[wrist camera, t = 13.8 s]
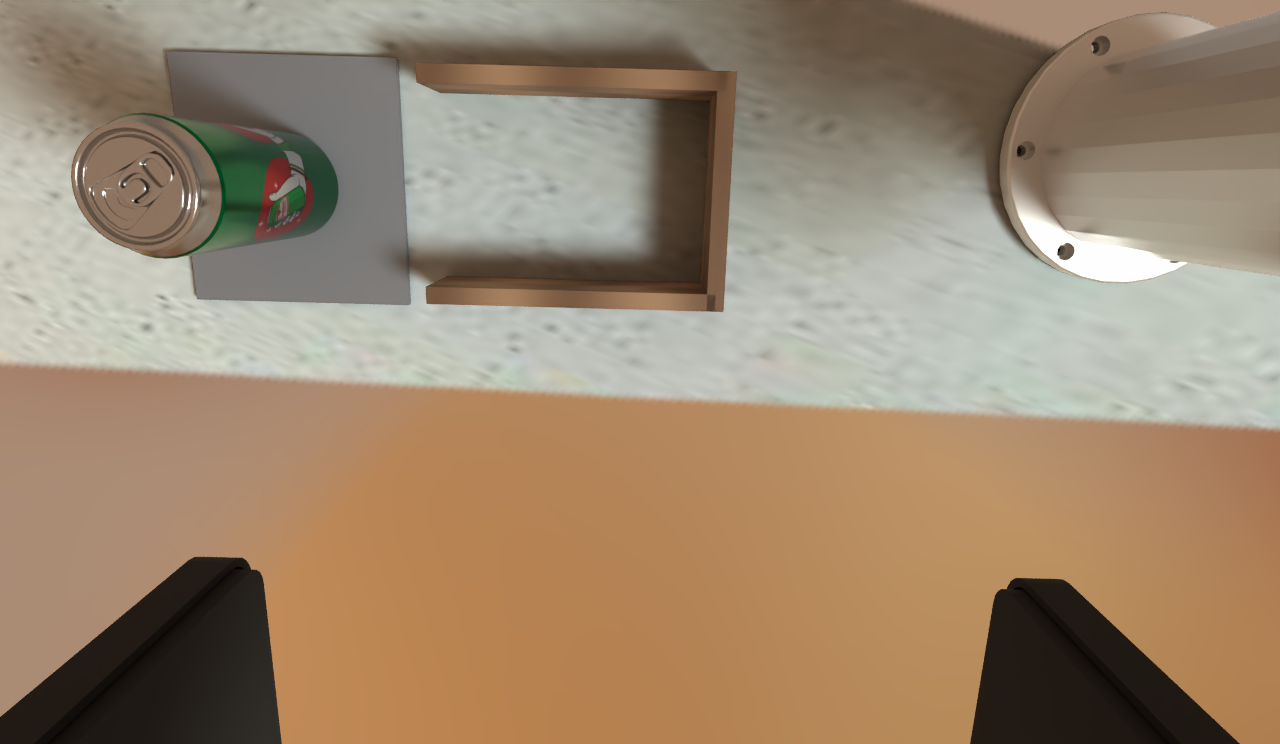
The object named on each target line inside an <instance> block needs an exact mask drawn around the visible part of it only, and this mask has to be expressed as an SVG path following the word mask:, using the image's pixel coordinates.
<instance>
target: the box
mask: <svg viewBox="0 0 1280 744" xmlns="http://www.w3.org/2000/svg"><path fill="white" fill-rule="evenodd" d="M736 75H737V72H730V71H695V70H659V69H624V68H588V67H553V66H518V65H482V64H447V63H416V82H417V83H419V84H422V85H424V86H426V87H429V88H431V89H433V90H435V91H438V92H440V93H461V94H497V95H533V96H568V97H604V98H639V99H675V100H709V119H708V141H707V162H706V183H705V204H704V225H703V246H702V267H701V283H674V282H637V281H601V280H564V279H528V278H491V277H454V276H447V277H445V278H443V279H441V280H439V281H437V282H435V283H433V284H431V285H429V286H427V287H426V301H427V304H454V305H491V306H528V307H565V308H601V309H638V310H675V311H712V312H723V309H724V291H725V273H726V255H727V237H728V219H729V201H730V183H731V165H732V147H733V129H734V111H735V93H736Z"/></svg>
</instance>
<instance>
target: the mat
mask: <svg viewBox="0 0 1280 744" xmlns="http://www.w3.org/2000/svg"><path fill="white" fill-rule="evenodd" d="M166 53H167V61H168V69H169V77H170V85H171V93H172V101H173V109H174V117H182V118H189V119H196V120H204V121H211V122H219V123H226V124H233V125H241V126H248V127H255V128H263V129H270V130H277V131H285V132H291V133H295V134H298V135H301V136H303V137H305V138H307V139H309V140H310V141H312V142H313V143H315V144H316V145H317V146H318V147H319V148H320V149H321V150H322V151H323V152H324V153H325V154H326V156H327V157H328V158H329V160H330V161H331V163H332V165H333V167H334V170H335V173H336V176H337V180H338V190H339V194H338V202H337V205H336V208H335V211H334V213H333V215H332V216H331V218H330V219H329V221H328V222H327V223H326V224H325V225H324V226H323V227H322V228H320V229H319V230H317V231H316V232H314V233H311V234H309V235H306V236H302V237H296V238H290V239H285V240H279V241H273V242H267V243H261V244H255V245H249V246H243V247H237V248H231V249H225V250H220V251H214V252H208V253H202V254H196V255H192V263H193V271H194V279H195V287H196V295H197V299H206V300H242V301H279V302H316V303H353V304H390V305H409V304H411V299H410V279H409V259H408V240H407V220H406V201H405V181H404V161H403V142H402V122H401V103H400V83H399V63H398V59H397V58H392V57H357V56H321V55H286V54H251V53H215V52H180V51H166Z"/></svg>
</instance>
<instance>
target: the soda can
mask: <svg viewBox="0 0 1280 744" xmlns="http://www.w3.org/2000/svg"><path fill="white" fill-rule="evenodd" d="M71 179H72V188H73V192H74V196H75V199H76V201H77V203H78V206H79V208H80V210H81V211H82V213H83V215H84V216H85V218H86V219H87V220H88V222H89V223H90V224H91V225H92V226H93V227H94V228H95V229H96V230H97V231H98V232H99V233H100V234H102V235H103V236H104V237H106V238H107V239H109V240H110V241H112V242H114V243H116V244H118V245H121V246H123V247H126V248H129V249H131V250H132V251H135V252H137V253H140V254H142V255H146V256H150V257H154V258H165V259H167V258H178V257H184V256H190V255H196V254H202V253H208V252H214V251H220V250H225V249H231V248H237V247H243V246H249V245H255V244H261V243H267V242H273V241H279V240H285V239H290V238H296V237H302V236H306V235H309V234H311V233H314V232H316V231H317V230H319V229H320V228H322V227H323V226H324V225H325V224H326V223H327V222H328V221H329V219H330V218H331V216H332V215H333V213H334V211H335V208H336V205H337V202H338V194H339V190H338V180H337V176H336V173H335V170H334V167H333V165H332V163H331V161H330V160H329V158H328V157H327V156H326V154H325V153H324V152H323V151H322V150H321V149H320V148H319V147H318V146H317V145H316V144H315V143H313V142H312V141H310V140H309V139H307V138H305V137H303V136H301V135H298V134H295V133H291V132H285V131H277V130H270V129H263V128H255V127H248V126H241V125H233V124H226V123H219V122H211V121H204V120H196V119H189V118H182V117H174V116H167V115H160V114H151V113H134V114H129V115H125V116H121V117H119V118H117V119H114V120H112V121H111V122H109V123H108V124H106V125H105V126H103V127H100V128H98V129H96V130H95V131H93V132H92V133H91V134H89V135H88V136H87V137H86V138H85V139H84V140H83V141H82V143H81V145H80V146H79V148H78V149H77V152H76V154H75V156H74V160H73V164H72V173H71Z"/></svg>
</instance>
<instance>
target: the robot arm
mask: <svg viewBox="0 0 1280 744" xmlns="http://www.w3.org/2000/svg"><path fill="white" fill-rule="evenodd" d="M1091 45H1093V46H1094V51H1093V52H1092V51H1091ZM1018 146H1019V147H1020V148H1021V154H1020V155H1019V156H1017V148H1018ZM1000 186H1001V191H1002V196H1003V202H1004V206H1005V209H1006V211H1007V213H1008V216H1009V218H1010V221H1011V223H1012V226H1013V228H1014V229H1015V230H1016V232H1017V233H1018V235H1019V236H1020V238H1021V239H1022V241H1023V242H1024V244H1025V245H1026V246H1027V247H1028V248H1029V249H1030V250H1031V251H1032V252H1033V253H1034V254H1036V255H1037V256H1038V257H1039V258H1040V259H1041V260H1042V261H1044V262H1045V263H1047V264H1049V265H1050V266H1052V267H1054V268H1055V269H1057V270H1059V271H1061V272H1064V273H1066V274H1069V275H1072V276H1075V277H1078V278H1081V279H1086V280H1092V281H1097V282H1101V283H1131V282H1137V281H1143V280H1149V279H1152V278H1155V277H1158V276H1161V275H1164V274H1167V273H1170V272H1173V271H1175V270H1177V269H1179V268H1180V267H1182V266H1184V265H1186V264H1188V263H1193V264H1200V265H1206V266H1213V267H1220V268H1227V269H1234V270H1240V271H1247V272H1254V273H1261V274H1268V275H1274V276H1280V12H1276V13H1272V14H1268V15H1265V16H1261V17H1257V18H1254V19H1250V20H1246V21H1242V22H1239V23H1235V24H1231V25H1227V26H1224V27H1220V28H1218V27H1216V26H1215V25H1213V24H1211V23H1208V22H1205V21H1203V20H1200V19H1197V18H1195V17H1192V16H1189V15H1181V14H1173V13H1167V12H1163V13H1162V12H1161V13H1148V14H1137V15H1134V16H1130V17H1126V18H1123V19H1119V20H1116V21H1112V22H1110V23H1107V24H1104V25H1102V26H1099V27H1097V28H1095V29H1092V30H1089V31H1088V32H1086V33H1084V34H1083V35H1081V36H1079V37H1078V38H1076V39H1074V40H1073V41H1071V42H1069V43H1068V44H1066V45H1065V46H1064V47H1063V48H1061V49H1060V50H1059V51H1058V52H1057V53H1056V54H1054V55H1053V56H1052V57H1051V58H1050V59H1049V60H1047V61H1046V62H1045V63H1044V65H1043V66H1042V67H1041V68H1040V69H1039V71H1038V72H1037V73H1036V74H1035V75H1034V77H1033V78H1032V79H1031V80H1030V81H1029V83H1028V84H1027V86H1026V87H1025V89H1024V91H1023V92H1022V94H1021V96H1020V98H1019V99H1018V101H1017V103H1016V104H1015V106H1014V108H1013V111H1012V114H1011V116H1010V119H1009V122H1008V124H1007V127H1006V130H1005V133H1004V138H1003V143H1002V149H1001V154H1000ZM1059 246H1060V252H1059V253H1058V254H1057V250H1058V248H1059ZM0 744H282V743H281V734H280V725H279V717H278V707H277V698H276V689H275V681H274V672H273V663H272V654H271V645H270V636H269V627H268V618H267V609H266V600H265V592H264V583H263V578H262V575H261V573H260V572H259V571H257V570H251V568H250V565H249V564H248V562H247V561H246V560H245V559H243V558H226V557H194V558H192V559H190V560H189V561H187V562H186V563H185V564H184V565H182V566H181V567H180V568H179V569H178V570H176V571H175V572H174V573H173V574H172V575H170V576H169V577H168V578H167V579H166V580H165V581H163V582H162V583H161V584H160V585H158V586H157V587H156V588H155V589H154V590H152V591H151V592H150V593H149V594H148V595H146V596H145V597H144V598H143V599H142V600H140V601H139V602H138V603H137V604H136V605H134V606H133V607H132V608H131V609H130V610H128V611H127V612H126V613H125V614H124V615H122V616H121V617H120V618H119V619H118V620H116V621H115V622H114V623H113V624H112V625H110V626H109V627H108V628H107V629H105V630H104V631H103V632H102V633H101V634H99V635H98V636H97V637H96V638H95V639H93V640H92V641H91V642H90V643H89V644H88V645H86V646H85V647H84V648H83V649H82V650H80V651H79V652H78V653H77V654H75V655H74V656H73V657H72V658H71V659H69V660H68V661H67V662H66V663H65V664H63V665H62V666H61V667H60V668H59V669H57V670H56V671H55V672H54V673H53V674H51V675H50V676H49V677H48V678H47V679H45V680H44V681H43V682H42V683H41V684H40V685H38V686H37V687H36V688H35V689H33V691H31V692H30V693H29V694H27V695H26V696H25V697H24V698H23V699H21V700H20V701H19V702H18V703H17V704H16V705H14V706H13V707H12V708H11V709H10V710H8V711H7V712H6V713H5V714H3V715H2V716H1V717H0ZM970 744H1239V743H1238V742H1237V741H1236V740H1235V739H1234V738H1233V737H1232V736H1231V735H1230V734H1229V733H1228V732H1226V730H1224V729H1223V728H1222V727H1221V726H1220V725H1219V724H1218V723H1217V722H1216V721H1215V720H1214V719H1212V717H1211V716H1210V715H1208V714H1207V713H1206V712H1205V711H1204V710H1203V709H1202V708H1201V707H1200V706H1199V705H1198V704H1197V703H1196V702H1195V701H1194V700H1193V699H1191V698H1190V697H1189V696H1188V695H1187V694H1186V693H1185V692H1184V691H1183V690H1182V689H1181V688H1180V687H1179V686H1178V685H1177V684H1175V683H1174V682H1173V681H1172V680H1171V679H1170V678H1169V677H1168V676H1167V675H1166V674H1165V673H1164V672H1163V671H1162V670H1161V669H1160V668H1158V667H1157V666H1156V665H1155V664H1154V663H1153V662H1152V661H1151V660H1150V659H1149V658H1148V657H1147V656H1146V655H1145V654H1144V653H1142V652H1141V651H1140V650H1139V649H1138V648H1137V647H1136V646H1135V645H1134V644H1133V643H1132V642H1131V641H1130V640H1129V639H1128V638H1127V637H1126V636H1124V635H1123V634H1122V633H1121V632H1120V631H1119V630H1118V629H1117V628H1116V627H1115V626H1114V625H1113V624H1112V623H1111V622H1110V621H1109V620H1107V619H1106V618H1105V617H1104V616H1103V615H1102V614H1101V613H1100V612H1099V611H1098V610H1097V609H1096V608H1095V607H1094V606H1093V605H1092V604H1090V603H1089V602H1088V601H1087V600H1086V599H1085V598H1084V597H1083V596H1082V595H1081V594H1080V593H1079V592H1077V590H1076V589H1074V588H1073V587H1072V586H1071V585H1070V584H1069V583H1068V582H1066V581H1064V580H1061V579H1031V578H1030V579H1029V578H1015V579H1013V580H1012V581H1011V582H1010V584H1009V585H1008V587H1007V589H1001V590H999V591H998V592H997V593H996V595H995V598H994V602H993V608H992V614H991V621H990V627H989V633H988V639H987V645H986V651H985V657H984V663H983V669H982V675H981V681H980V688H979V693H978V699H977V706H976V712H975V718H974V725H973V730H972V736H971V743H970Z"/></svg>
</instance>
